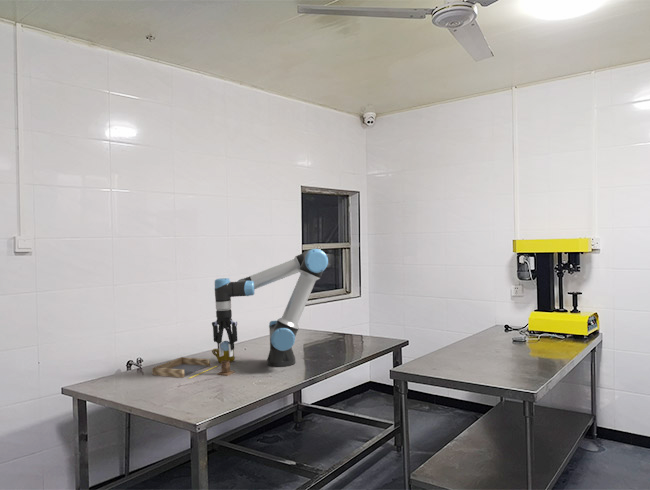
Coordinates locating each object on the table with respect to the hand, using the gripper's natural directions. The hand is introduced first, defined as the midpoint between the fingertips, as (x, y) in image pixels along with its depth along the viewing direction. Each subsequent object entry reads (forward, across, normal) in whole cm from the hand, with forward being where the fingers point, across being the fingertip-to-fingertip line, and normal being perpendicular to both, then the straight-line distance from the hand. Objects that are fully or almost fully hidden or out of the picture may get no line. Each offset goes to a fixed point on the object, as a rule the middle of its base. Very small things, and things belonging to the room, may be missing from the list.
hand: (226, 355), depth 245 cm
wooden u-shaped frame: (+8, +27, 0) cm, 28 cm away
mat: (+8, +27, 0) cm, 28 cm away
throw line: (+9, +14, 0) cm, 16 cm away
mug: (+9, +16, -21) cm, 27 cm away
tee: (+9, +1, 0) cm, 9 cm away
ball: (-5, 0, 0) cm, 5 cm away
